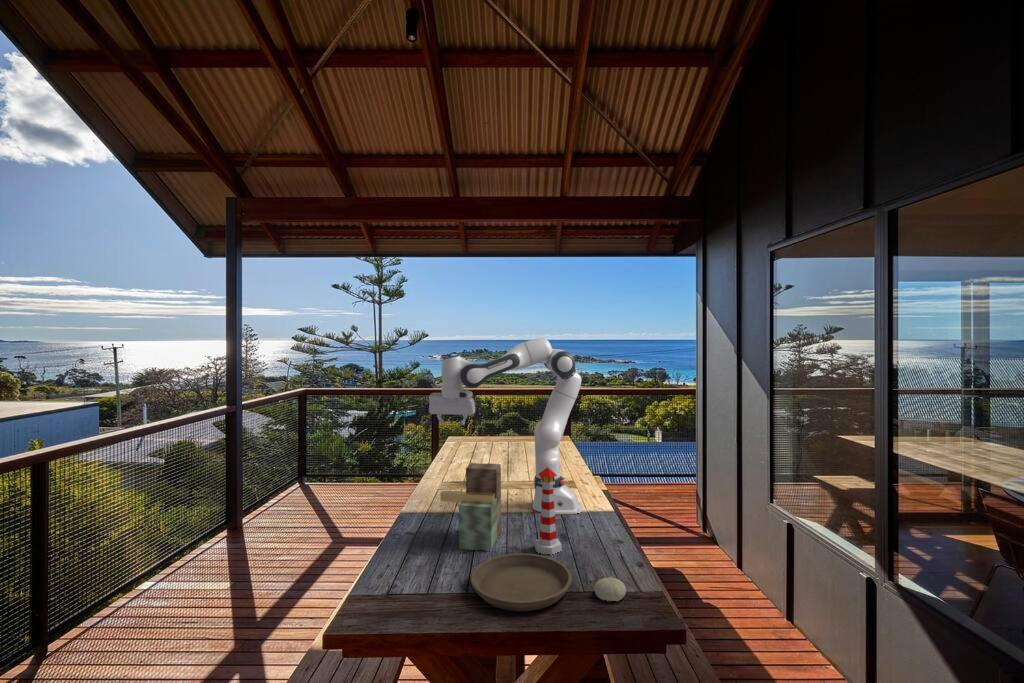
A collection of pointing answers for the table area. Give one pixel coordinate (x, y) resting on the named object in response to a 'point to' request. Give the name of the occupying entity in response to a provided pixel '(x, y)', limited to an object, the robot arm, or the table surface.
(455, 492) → the brass bar
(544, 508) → the decorative lighthouse
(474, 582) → the plant saucer
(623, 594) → the sea urchin shell
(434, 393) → the robot arm
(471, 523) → the two-tone block tower
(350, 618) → the table surface
